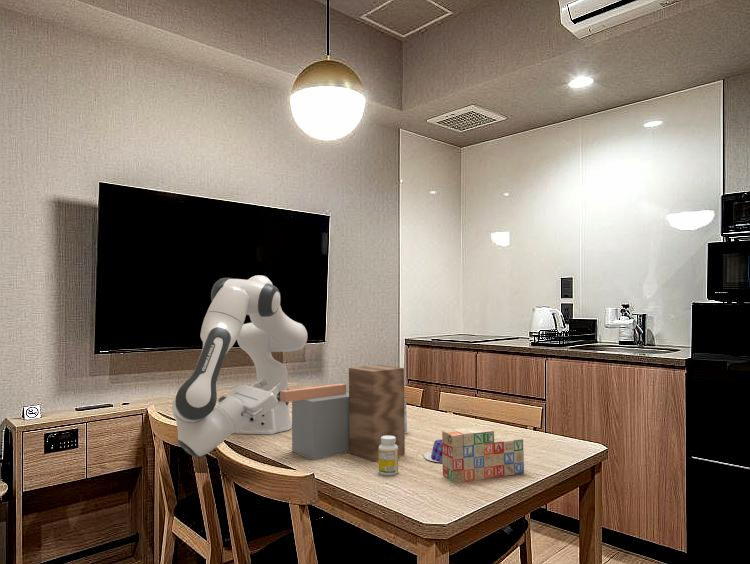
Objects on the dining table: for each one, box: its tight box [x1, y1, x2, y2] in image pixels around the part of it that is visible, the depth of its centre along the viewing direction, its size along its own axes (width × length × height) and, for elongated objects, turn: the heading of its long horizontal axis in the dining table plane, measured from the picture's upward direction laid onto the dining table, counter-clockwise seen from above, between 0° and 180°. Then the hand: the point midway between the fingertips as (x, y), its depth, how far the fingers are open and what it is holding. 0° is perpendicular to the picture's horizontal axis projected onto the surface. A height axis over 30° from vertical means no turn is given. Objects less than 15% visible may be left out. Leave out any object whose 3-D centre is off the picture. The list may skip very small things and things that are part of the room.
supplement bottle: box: [378, 436, 399, 477], centre depth 153 cm, size 5×5×10 cm
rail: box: [280, 383, 347, 403], centre depth 174 cm, size 22×3×3 cm, turn 128°
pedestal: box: [291, 391, 349, 461], centre depth 177 cm, size 18×12×17 cm, turn 128°
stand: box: [348, 364, 406, 463], centre depth 172 cm, size 12×12×26 cm
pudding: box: [423, 438, 443, 464], centre depth 167 cm, size 12×12×5 cm
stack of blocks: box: [441, 425, 525, 483], centre depth 151 cm, size 21×6×12 cm, turn 110°
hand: (273, 383), depth 166 cm, fingers open, 8 cm apart
